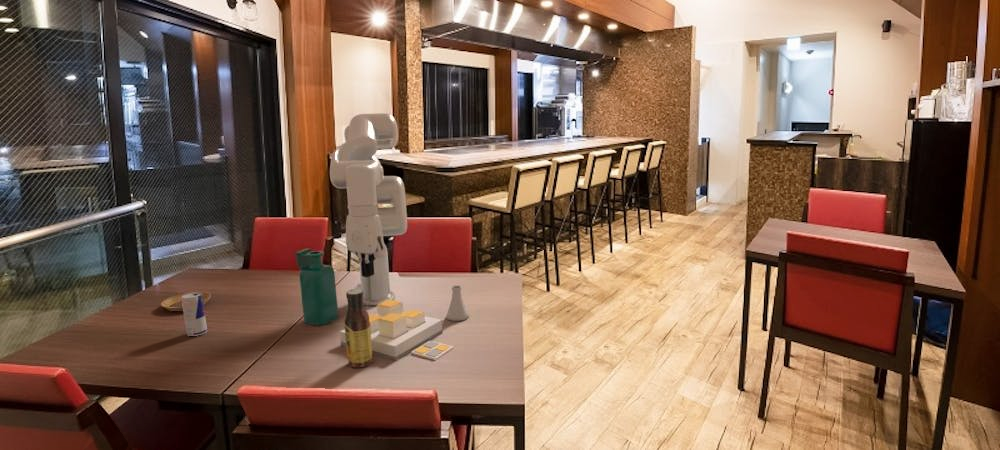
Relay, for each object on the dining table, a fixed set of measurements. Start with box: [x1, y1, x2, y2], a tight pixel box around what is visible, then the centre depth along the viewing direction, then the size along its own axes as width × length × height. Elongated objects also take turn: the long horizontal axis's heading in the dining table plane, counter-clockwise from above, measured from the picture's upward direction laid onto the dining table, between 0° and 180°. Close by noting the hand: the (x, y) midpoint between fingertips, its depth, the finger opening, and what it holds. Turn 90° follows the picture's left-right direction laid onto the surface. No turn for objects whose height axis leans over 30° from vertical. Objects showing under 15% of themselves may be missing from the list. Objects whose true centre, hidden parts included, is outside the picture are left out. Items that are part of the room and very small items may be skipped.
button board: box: [339, 310, 443, 361], centre depth 156 cm, size 20×20×4 cm
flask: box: [446, 284, 470, 322], centre depth 170 cm, size 7×7×10 cm
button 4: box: [400, 308, 426, 329], centre depth 157 cm, size 5×5×5 cm
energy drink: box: [181, 291, 208, 337], centre depth 161 cm, size 5×5×12 cm
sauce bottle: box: [343, 288, 373, 368], centre depth 139 cm, size 6×6×20 cm
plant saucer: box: [160, 291, 212, 312], centre depth 186 cm, size 15×15×3 cm
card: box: [410, 340, 454, 361], centre depth 148 cm, size 8×8×1 cm
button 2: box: [376, 299, 404, 317], centre depth 160 cm, size 5×5×5 cm
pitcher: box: [294, 248, 339, 326], centre depth 169 cm, size 10×8×22 cm
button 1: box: [368, 313, 383, 334], centre depth 154 cm, size 5×5×5 cm
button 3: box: [378, 313, 407, 340], centre depth 150 cm, size 5×5×5 cm
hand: (368, 275), depth 151 cm, fingers closed
